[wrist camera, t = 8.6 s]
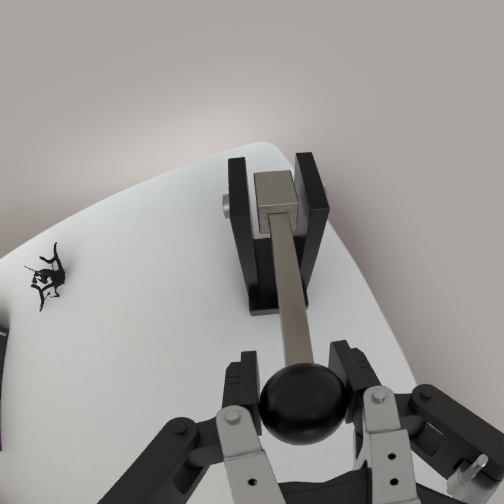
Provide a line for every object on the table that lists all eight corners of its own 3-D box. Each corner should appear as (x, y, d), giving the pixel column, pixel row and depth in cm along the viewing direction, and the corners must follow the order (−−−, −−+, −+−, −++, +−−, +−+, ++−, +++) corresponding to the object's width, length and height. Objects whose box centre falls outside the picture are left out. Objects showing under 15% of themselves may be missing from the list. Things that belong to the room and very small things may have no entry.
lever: (340, 433, 10) (364, 439, 7) (263, 444, 10) (259, 456, 7) (299, 203, 18) (302, 160, 15) (246, 208, 18) (240, 165, 15)
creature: (37, 314, 26) (67, 315, 24) (6, 298, 21) (30, 297, 19) (51, 260, 30) (82, 252, 28) (24, 241, 25) (51, 229, 23)
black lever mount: (312, 309, 23) (346, 229, 12) (245, 316, 24) (219, 241, 12) (300, 242, 27) (314, 138, 16) (241, 248, 27) (219, 146, 16)
